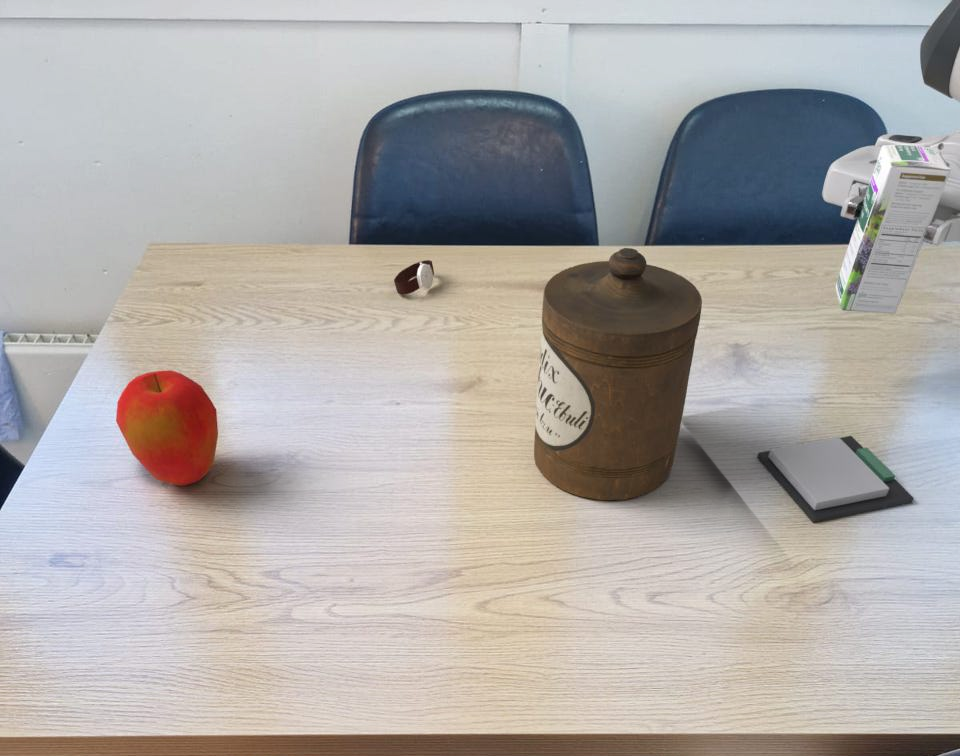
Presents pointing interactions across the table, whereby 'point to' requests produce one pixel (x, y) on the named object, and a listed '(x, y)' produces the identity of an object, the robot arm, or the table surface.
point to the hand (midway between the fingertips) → (888, 222)
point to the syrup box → (891, 227)
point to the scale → (834, 478)
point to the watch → (421, 280)
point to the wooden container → (613, 375)
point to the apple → (169, 426)
